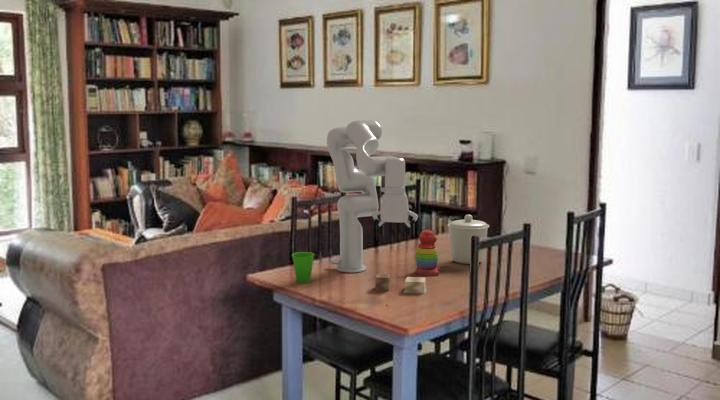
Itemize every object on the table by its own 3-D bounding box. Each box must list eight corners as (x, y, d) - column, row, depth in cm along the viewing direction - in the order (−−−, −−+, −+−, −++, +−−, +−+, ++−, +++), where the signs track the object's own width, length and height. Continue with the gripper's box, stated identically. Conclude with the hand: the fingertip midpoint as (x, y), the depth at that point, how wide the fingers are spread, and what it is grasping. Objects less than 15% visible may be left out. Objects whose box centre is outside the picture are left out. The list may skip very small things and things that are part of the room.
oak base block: (404, 292, 257) (405, 281, 257) (406, 287, 264) (406, 276, 263) (424, 293, 256) (424, 282, 255) (425, 288, 263) (425, 277, 262)
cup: (297, 285, 271) (296, 257, 270) (288, 280, 279) (288, 253, 278) (318, 283, 276) (318, 255, 274) (309, 277, 284) (309, 251, 282)
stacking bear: (438, 276, 286) (439, 233, 283) (413, 275, 288) (414, 232, 285) (440, 269, 296) (441, 228, 294) (416, 268, 298) (417, 227, 296)
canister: (460, 268, 299) (461, 219, 296) (439, 259, 316) (440, 213, 313) (496, 264, 306) (497, 216, 303) (473, 255, 323) (474, 210, 320)
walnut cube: (375, 290, 260) (375, 277, 259) (377, 286, 265) (377, 273, 264) (388, 291, 259) (388, 277, 258) (390, 287, 264) (390, 274, 263)
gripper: (369, 192, 259) (370, 237, 261) (416, 193, 255) (416, 239, 257) (374, 189, 266) (374, 234, 269) (419, 190, 262) (419, 236, 264)
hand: (395, 236), depth 263 cm, fingers open, 9 cm apart
